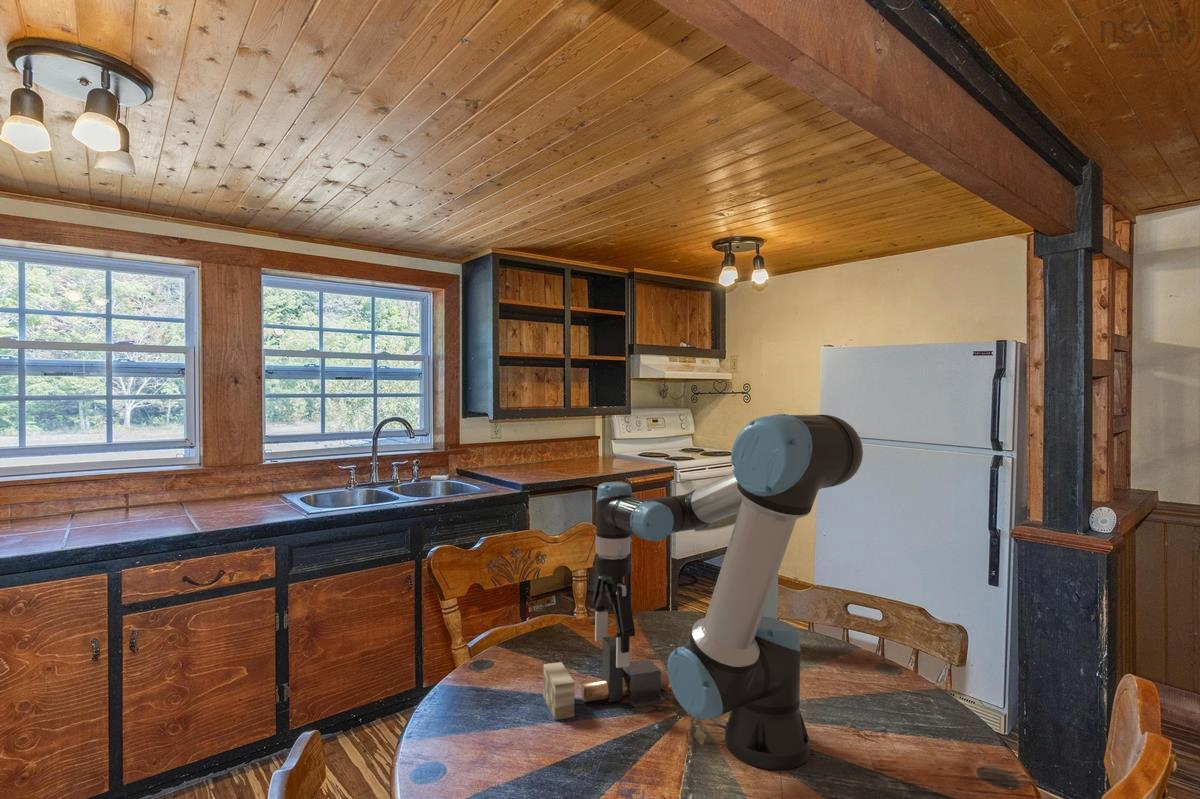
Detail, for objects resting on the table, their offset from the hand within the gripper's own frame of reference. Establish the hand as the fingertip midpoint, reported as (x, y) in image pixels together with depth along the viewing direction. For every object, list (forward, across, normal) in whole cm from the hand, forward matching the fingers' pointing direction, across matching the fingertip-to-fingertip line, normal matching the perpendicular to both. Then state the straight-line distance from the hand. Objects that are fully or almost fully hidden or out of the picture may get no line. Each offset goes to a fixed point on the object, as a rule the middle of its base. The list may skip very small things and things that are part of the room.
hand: (611, 652), depth 129 cm
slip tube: (+10, -1, -3) cm, 10 cm away
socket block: (+10, -1, +12) cm, 15 cm away
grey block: (+10, -1, -7) cm, 12 cm away
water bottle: (+10, +13, -46) cm, 49 cm away
